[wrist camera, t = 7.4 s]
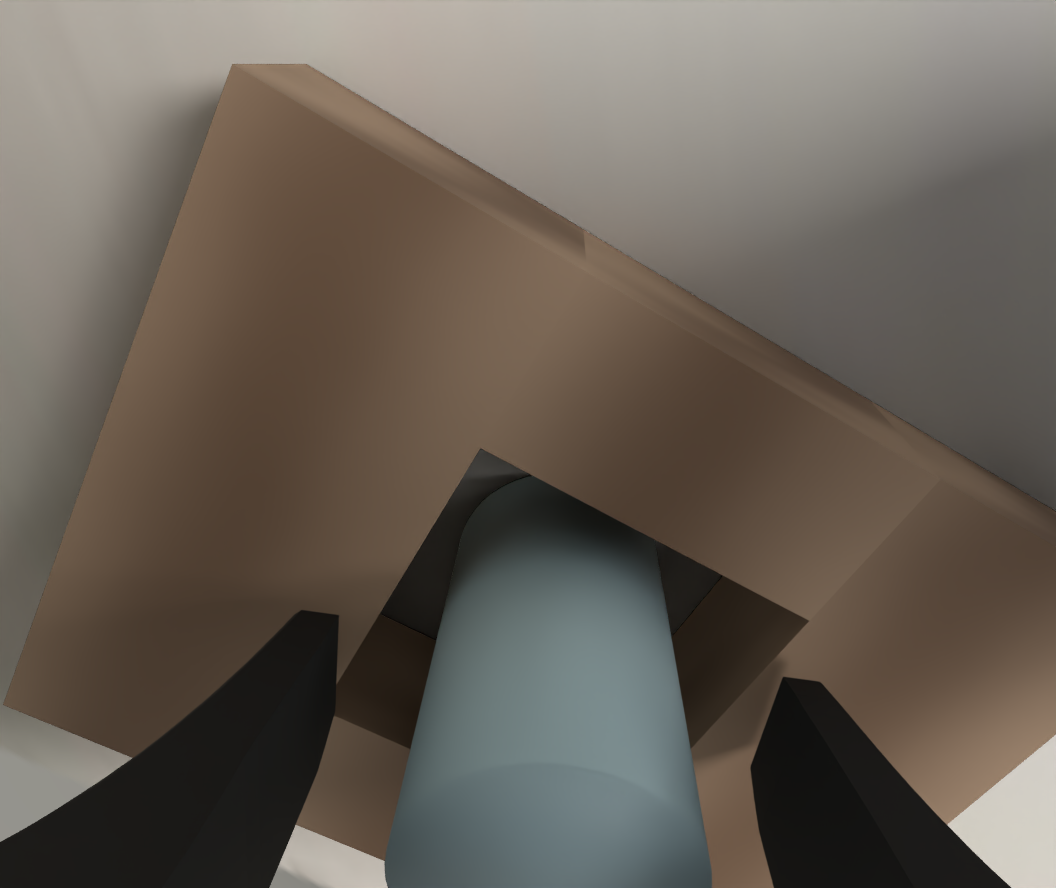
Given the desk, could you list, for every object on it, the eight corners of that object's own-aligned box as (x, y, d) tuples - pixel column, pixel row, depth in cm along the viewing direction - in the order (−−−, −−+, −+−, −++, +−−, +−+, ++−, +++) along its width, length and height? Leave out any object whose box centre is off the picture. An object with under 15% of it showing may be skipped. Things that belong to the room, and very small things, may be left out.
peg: (672, 485, 15) (744, 785, 9) (640, 648, 17) (680, 997, 11) (464, 462, 15) (386, 744, 9) (453, 629, 17) (382, 964, 11)
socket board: (1077, 524, 15) (1188, 624, 12) (709, 874, 20) (731, 1002, 17) (306, 64, 12) (232, 64, 10) (92, 602, 17) (2, 704, 14)
